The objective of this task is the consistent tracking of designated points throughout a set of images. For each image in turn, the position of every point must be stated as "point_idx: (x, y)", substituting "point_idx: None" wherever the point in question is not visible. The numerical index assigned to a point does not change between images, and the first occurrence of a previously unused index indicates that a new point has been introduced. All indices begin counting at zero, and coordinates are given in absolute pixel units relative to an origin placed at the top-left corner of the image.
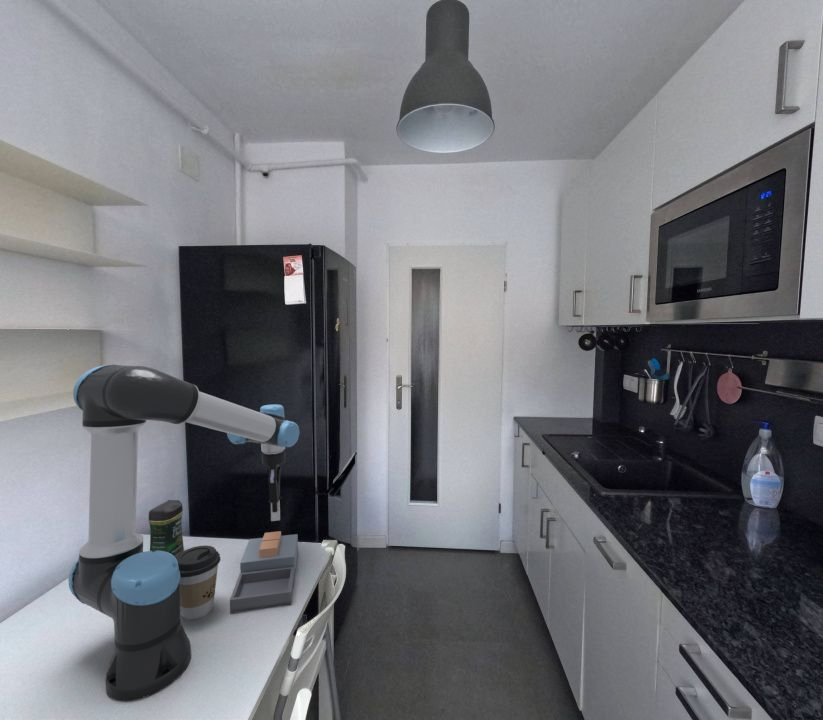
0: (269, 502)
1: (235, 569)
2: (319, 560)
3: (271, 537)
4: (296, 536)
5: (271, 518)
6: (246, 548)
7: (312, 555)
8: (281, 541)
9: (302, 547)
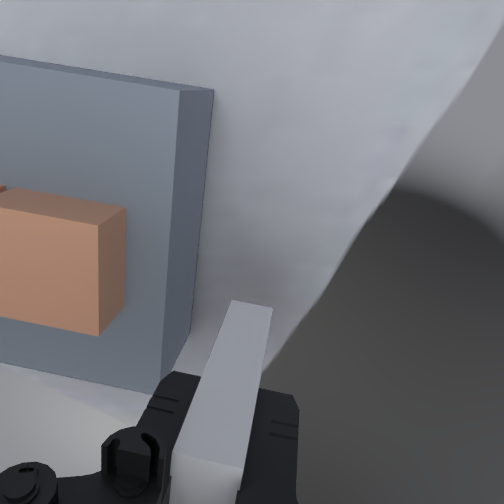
0: (112, 449)
1: (98, 3)
2: (91, 393)
3: (12, 268)
4: (129, 386)
5: (227, 316)
6: (33, 72)
7: None
8: None
9: None
